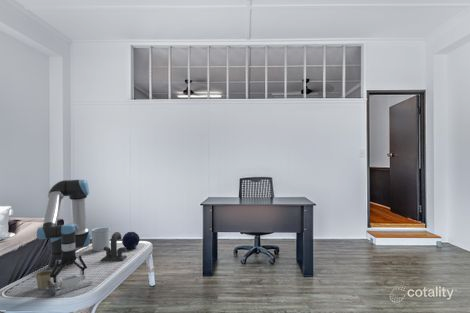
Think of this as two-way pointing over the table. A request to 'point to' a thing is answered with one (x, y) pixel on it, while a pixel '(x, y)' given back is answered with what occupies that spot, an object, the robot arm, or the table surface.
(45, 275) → the flower pot
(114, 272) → the table surface
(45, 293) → the table surface
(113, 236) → the faucet
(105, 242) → the utensil holder
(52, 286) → the rail
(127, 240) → the decorative orb
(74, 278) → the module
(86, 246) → the robot arm
